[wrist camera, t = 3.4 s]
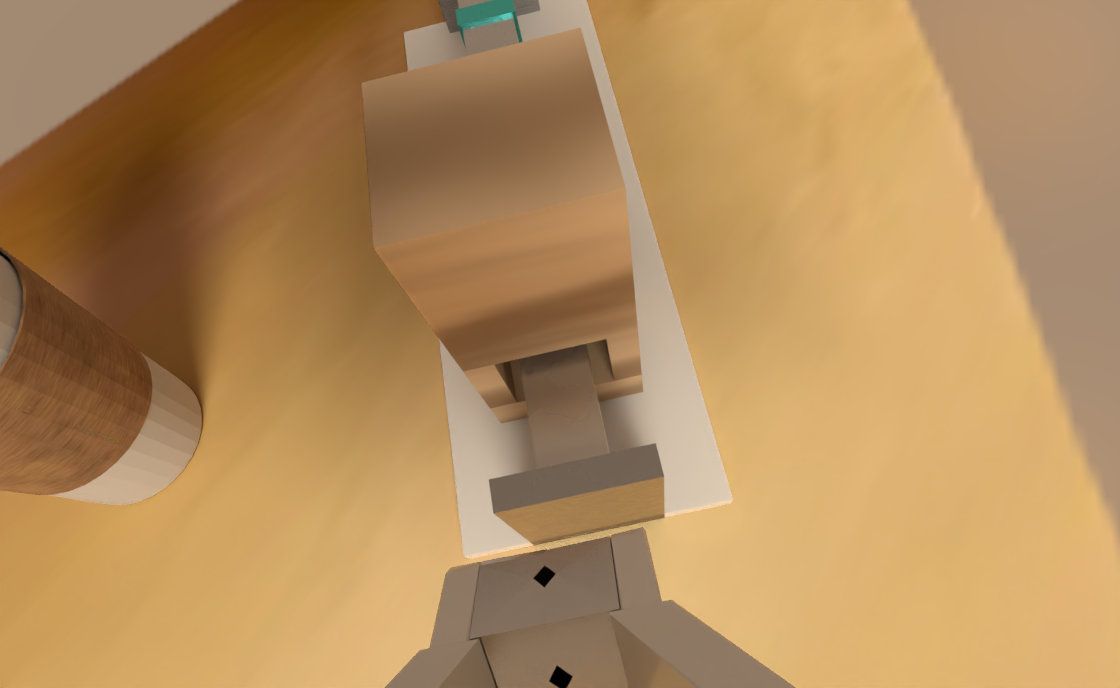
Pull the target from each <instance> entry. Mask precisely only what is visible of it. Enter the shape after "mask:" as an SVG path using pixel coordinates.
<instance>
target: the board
mask: <svg viewBox="0 0 1120 688" xmlns="http://www.w3.org/2000/svg"><path fill="white" fill-rule="evenodd" d="M538 1H539V6H540V11H536V12H532V13H529V14H525V15H521V16H517V19H518V23H519V28H520V32H521V36H522V40H523V42H525V41H529V40H533V39H537V38H541V37H545V36H549V35H553V34H557V33H561V32H564V31H568V30H572V29H576V28H580V27H581V30H582V34H583V38H584V41H585V45H586V48H587V52H588V55H589V59H590V63H591V66H592V70H593V73H594V77H595V80H596V84H597V88H598V91H599V95H600V98H601V102H602V105H603V109H604V113H605V116H606V120H607V123H608V127H609V130H610V134H611V138H612V141H613V145H614V148H615V152H616V155H617V159H618V162H619V166H620V170H621V173H622V177H623V180H624V184H625V187H626V198H627V209H628V221H629V232H630V244H631V255H632V267H633V278H634V290H635V302H636V313H637V325H638V336H639V348H640V359H641V371H642V382H643V392H641V393H636V394H632V395H627V396H623V397H618V398H614V399H609V400H605V401H600V402H599V405H600V410H601V414H602V419H603V423H604V428H605V432H606V437H607V442H608V446H609V451H610V453H613V452H617V451H622V450H626V449H631V448H636V447H640V446H645V445H649V444H654V443H656V446H657V450H658V454H659V458H660V462H661V466H662V470H663V474H664V509H665V517H670V516H674V515H679V514H684V513H688V512H693V511H698V510H703V509H707V508H712V507H717V506H722V505H726V504H731V502H732V500H733V498H732V494H731V491H730V488H729V484H728V481H727V477H726V474H725V471H724V467H723V464H722V460H721V457H720V454H719V450H718V447H717V443H716V440H715V436H714V433H713V430H712V426H711V423H710V419H709V416H708V413H707V409H706V406H705V402H704V399H703V396H702V392H701V389H700V385H699V382H698V378H697V375H696V372H695V368H694V365H693V361H692V358H691V355H690V351H689V348H688V344H687V341H686V338H685V334H684V331H683V327H682V324H681V320H680V317H679V314H678V310H677V307H676V303H675V300H674V297H673V293H672V290H671V286H670V283H669V280H668V276H667V273H666V269H665V266H664V263H663V259H662V256H661V252H660V249H659V245H658V242H657V239H656V235H655V232H654V228H653V225H652V222H651V218H650V215H649V211H648V208H647V205H646V201H645V198H644V194H643V191H642V187H641V184H640V181H639V177H638V174H637V170H636V167H635V164H634V160H633V157H632V153H631V150H630V147H629V143H628V140H627V136H626V133H625V129H624V126H623V123H622V119H621V116H620V112H619V109H618V106H617V102H616V99H615V95H614V92H613V89H612V85H611V82H610V78H609V75H608V72H607V68H606V65H605V61H604V58H603V54H602V51H601V48H600V44H599V41H598V37H597V34H596V31H595V27H594V24H593V20H592V17H591V14H590V10H589V7H588V3H587V0H538ZM404 39H405V48H406V57H407V66H408V71H410V70H414V69H418V68H422V67H426V66H430V65H434V64H438V63H442V62H446V61H450V60H454V59H458V58H461V57H465V56H467V53H466V49H465V46H464V43H463V40H462V37H461V34H460V31H458V32H454V33H450V32H449V30H448V27H447V24H446V21H445V22H441V23H438V24H434V25H430V26H426V27H422V28H418V29H414V30H410V31H406V32H404ZM439 344H440V353H441V362H442V370H443V379H444V388H445V397H446V405H447V414H448V423H449V431H450V440H451V449H452V458H453V466H454V475H455V484H456V492H457V501H458V510H459V519H460V527H461V536H462V545H463V553H464V557H467V558H469V559H471V558H476V557H481V556H486V555H490V554H495V553H500V552H504V551H509V550H514V549H519V548H523V547H528V546H533V544H532V543H530V542H529V541H528V540H527V539H525V538H524V537H523V536H521V535H520V534H519V533H518V532H516V531H515V530H514V529H513V528H511V527H510V526H509V525H508V524H506V523H505V522H504V521H502V520H501V519H500V518H499V517H497V516H496V515H495V514H494V513H493V507H492V500H491V492H490V485H489V479H493V478H498V477H503V476H507V475H512V474H516V473H521V472H525V471H530V470H535V469H537V465H536V459H535V453H534V447H533V441H532V435H531V429H530V423H529V418H524V419H519V420H515V421H510V422H506V423H500V421H499V420H498V419H497V417H496V416H495V415H494V413H493V412H492V410H491V409H490V408H489V406H488V405H487V404H486V402H485V401H484V400H483V398H482V397H481V395H480V394H479V393H478V391H477V390H476V389H475V387H474V386H473V384H472V383H471V382H470V380H469V379H468V378H467V376H466V375H465V373H464V372H463V371H462V369H461V368H460V367H459V365H458V364H457V363H456V361H455V360H454V358H453V357H452V356H451V354H450V353H449V352H448V350H447V349H446V347H445V346H444V345H443V343H442V342H441V341H440V339H439ZM661 517H662V516H661ZM663 518H664V517H663ZM657 519H658V518H657ZM644 521H645V520H644ZM644 521H643V522H644ZM649 521H650V519H649ZM638 523H639V522H638ZM640 523H641V522H640ZM636 524H637V523H636ZM627 525H628V524H627ZM621 527H622V526H621ZM616 528H617V527H616ZM612 529H613V528H612ZM607 530H608V529H607ZM599 531H600V530H599ZM602 531H604V530H602ZM590 533H591V532H590ZM588 534H589V533H588ZM578 535H579V534H578ZM584 535H585V534H584ZM574 537H575V536H574ZM569 538H571V536H570V537H569ZM563 539H564V538H563ZM565 539H566V538H565ZM535 545H536V544H535Z"/></svg>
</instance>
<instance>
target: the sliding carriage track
mask: <svg viewBox="0 0 1120 688" xmlns="http://www.w3.org/2000/svg"><path fill="white" fill-rule="evenodd" d="M438 1H439V4H440V7H441V10H442V12H443V15H444V18H445V21H446V24H447V27H448V30H449V32H450V33H454V32H458V31H460V34H461V37H462V40H463V43H464V46H465V49H466V53H467V56H469V55H473V54H477V53H481V52H485V51H489V50H493V49H497V48H501V47H505V46H509V45H513V44H517V43H521V42H523V40H522V36H521V32H520V28H519V23H518V19H517V16H521V15H525V14H529V13H532V12H536V11H540V6H539V1H538V0H438ZM519 365H520V370H521V376H522V382H523V388H524V394H525V400H526V406H527V412H528V418H529V423H530V429H531V435H532V441H533V447H534V453H535V459H536V465H537V469H535V470H530V471H525V472H521V473H516V474H512V475H507V476H503V477H498V478H493V479H489V485H490V492H491V500H492V507H493V513H494V514H495V515H496V516H497V517H499V518H500V519H501V520H502V521H504V522H505V523H506V524H508V525H509V526H510V527H511V528H513V529H514V530H515V531H516V532H518V533H519V534H520V535H521V536H523V537H524V538H525V539H527V540H528V541H529V542H530V543H532V544H533V545H535V544H536V545H537V544H542V543H547V542H552V541H556V540H561V539H563V538H564V539H565V538H569V537H570V536H571V537H574V536H580V535H584V534H588V533H590V532H591V533H594V532H599V530H600V531H602V530H607V529H612V528H616V527H617V528H618V527H621V526H627V524H628V525H632V524H636V523H638V522H639V523H640V522H643V521H644V520H645V521H644V522H646V521H649V519H650V521H651V520H655V519H657V518H658V519H660V518H663V517H664V518H665V509H664V474H663V470H662V466H661V462H660V458H659V454H658V450H657V446H656V443H654V444H649V445H645V446H640V447H636V448H631V449H626V450H622V451H617V452H613V453H610V451H609V446H608V442H607V437H606V432H605V428H604V423H603V419H602V414H601V410H600V405H599V401H598V396H597V392H596V387H595V383H594V378H593V373H592V369H591V364H590V360H589V355H588V351H587V346H586V344H582V345H578V346H574V347H569V348H565V349H560V350H556V351H552V352H547V353H543V354H538V355H534V356H530V357H525V358H521V359H519ZM661 516H662V517H661ZM578 534H579V535H578Z"/></svg>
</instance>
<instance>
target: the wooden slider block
mask: <svg viewBox="0 0 1120 688" xmlns="http://www.w3.org/2000/svg"><path fill="white" fill-rule="evenodd" d="M361 86H362V100H363V114H364V128H365V141H366V155H367V169H368V183H369V197H370V211H371V225H372V239H373V249H374V250H375V252H376V253H377V254H378V256H379V257H380V258H381V260H382V261H383V262H384V264H385V265H386V267H387V268H388V269H389V271H390V272H391V273H392V275H393V276H394V278H395V279H396V280H397V282H398V283H399V284H400V286H401V287H402V289H403V290H404V291H405V293H406V294H407V295H408V297H409V298H410V299H411V301H412V302H413V304H414V305H415V306H416V308H417V309H418V310H419V312H420V313H421V315H422V316H423V317H424V319H425V320H426V321H427V323H428V324H429V326H430V327H431V328H432V330H433V331H434V332H435V334H436V335H437V336H438V338H439V339H440V341H441V342H442V343H443V345H444V346H445V347H446V349H447V350H448V352H449V353H450V354H451V356H452V357H453V358H454V360H455V361H456V363H457V364H458V365H459V367H460V368H461V369H462V371H463V372H464V373H465V375H466V376H467V378H468V379H469V380H470V382H471V383H472V384H473V386H474V387H475V389H476V390H477V391H478V393H479V394H480V395H481V397H482V398H483V400H484V401H485V402H486V404H487V405H488V406H489V408H490V409H491V410H492V412H493V413H494V415H495V416H496V417H497V419H498V420H499V421H500V423H506V422H510V421H515V420H519V419H524V418H528V412H527V406H526V400H525V394H524V388H523V382H522V376H521V370H520V365H519V359H521V358H525V357H530V356H534V355H538V354H543V353H547V352H552V351H556V350H560V349H565V348H569V347H574V346H578V345H582V344H586V346H587V351H588V355H589V360H590V364H591V369H592V373H593V378H594V383H595V387H596V392H597V396H598V401H599V402H600V401H605V400H609V399H614V398H618V397H623V396H627V395H632V394H636V393H641V392H643V382H642V371H641V359H640V348H639V336H638V325H637V313H636V302H635V290H634V278H633V267H632V255H631V244H630V232H629V221H628V209H627V198H626V187H625V184H624V180H623V177H622V173H621V170H620V166H619V162H618V159H617V155H616V152H615V148H614V145H613V141H612V138H611V134H610V130H609V127H608V123H607V120H606V116H605V113H604V109H603V105H602V102H601V98H600V95H599V91H598V88H597V84H596V80H595V77H594V73H593V70H592V66H591V63H590V59H589V55H588V52H587V48H586V45H585V41H584V38H583V34H582V30H581V27H580V28H576V29H572V30H568V31H564V32H561V33H557V34H553V35H549V36H545V37H541V38H537V39H533V40H529V41H525V42H521V43H517V44H513V45H509V46H505V47H501V48H497V49H493V50H489V51H485V52H481V53H477V54H473V55H469V56H465V57H461V58H458V59H454V60H450V61H446V62H442V63H438V64H434V65H430V66H426V67H422V68H418V69H414V70H410V71H406V72H402V73H398V74H394V75H390V76H386V77H382V78H378V79H374V80H370V81H366V82H362V83H361Z"/></svg>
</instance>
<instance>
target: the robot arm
mask: <svg viewBox="0 0 1120 688" xmlns="http://www.w3.org/2000/svg"><path fill="white" fill-rule="evenodd" d="M385 688H795V687H794V686H792V685H791V684H790V683H788V682H787V681H785V680H784V679H783V678H781V677H780V676H778V675H777V674H776V673H774V672H773V671H771V670H770V669H769V668H767V667H766V666H764V665H763V664H761V663H760V662H759V661H757V660H756V659H754V658H753V657H752V656H750V655H749V654H747V653H746V652H745V651H743V650H742V649H740V648H739V647H738V646H736V645H735V644H733V643H732V642H730V641H729V640H728V639H726V638H725V637H723V636H722V635H721V634H719V633H718V632H716V631H715V630H714V629H712V628H711V627H709V626H708V625H707V624H705V623H704V622H702V621H701V620H699V619H698V618H697V617H695V616H694V615H692V614H691V613H690V612H688V611H687V610H685V609H684V608H683V607H681V606H680V605H678V604H677V603H675V602H674V601H673V600H669V601H663V602H662V600H661V596H660V592H659V587H658V583H657V579H656V574H655V570H654V566H653V561H652V557H651V552H650V548H649V544H648V539H647V535H646V531H645V530H644V528H643V527H642V528H638V529H634V530H630V531H626V532H622V533H618V534H613V535H611V537H610V536H609V537H604V538H600V539H595V540H591V541H586V542H582V543H577V544H573V545H568V546H563V547H559V548H554V549H550V550H547V549H546V550H541V551H535V552H530V553H525V554H519V555H514V556H508V557H503V558H498V559H492V560H487V561H483V562H477V563H472V564H467V565H462V566H457V567H452V568H450V569H449V570H448V572H447V573H446V575H445V579H444V584H443V589H442V593H441V598H440V602H439V607H438V611H437V616H436V621H435V625H434V630H433V634H432V639H431V643H430V648H429V649H425V650H420V651H419V652H418V653H417V654H416V655H415V656H414V657H413V658H412V659H411V660H410V661H409V662H408V664H407V665H406V666H405V667H404V668H403V669H402V670H401V671H400V672H399V673H398V674H397V675H396V676H395V677H394V678H393V680H392V681H391V682H390V683H389V684H388V685H387V686H386V687H385Z"/></svg>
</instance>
